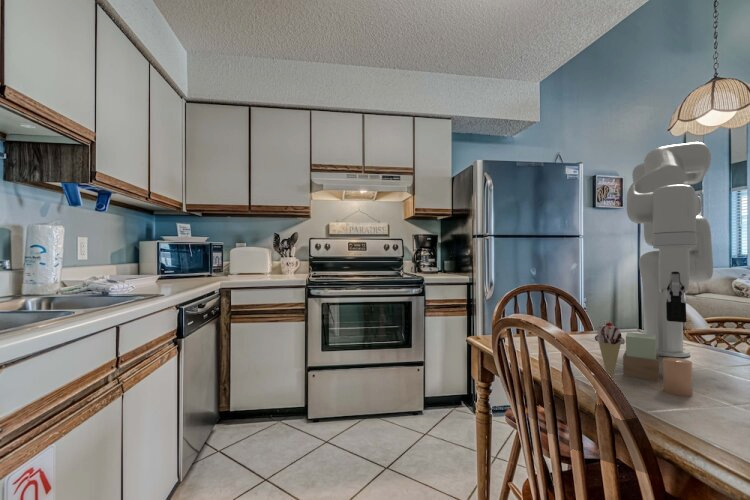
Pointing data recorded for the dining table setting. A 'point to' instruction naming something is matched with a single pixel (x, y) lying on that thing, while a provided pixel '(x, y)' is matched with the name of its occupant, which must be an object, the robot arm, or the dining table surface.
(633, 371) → the base block
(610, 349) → the ice cream cone
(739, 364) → the dining table surface
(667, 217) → the robot arm
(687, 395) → the tan rounded capsule
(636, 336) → the pale green block
